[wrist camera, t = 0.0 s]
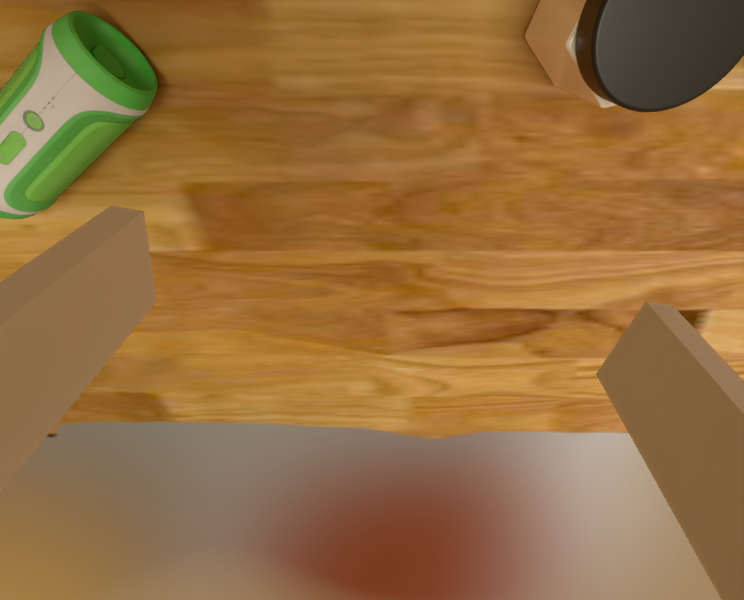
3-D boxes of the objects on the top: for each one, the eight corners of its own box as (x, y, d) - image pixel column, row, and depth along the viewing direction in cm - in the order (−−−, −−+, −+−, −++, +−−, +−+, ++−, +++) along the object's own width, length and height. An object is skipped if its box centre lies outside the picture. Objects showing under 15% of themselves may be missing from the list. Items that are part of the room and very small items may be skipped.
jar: (600, 102, 33) (686, 140, 24) (507, 68, 32) (557, 93, 23) (678, -35, 28) (828, -58, 19) (571, -80, 27) (671, -131, 18)
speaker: (104, 2, 31) (33, 0, 25) (180, 91, 34) (133, 109, 28) (-11, 140, 37) (-91, 166, 31) (62, 204, 41) (3, 238, 35)
